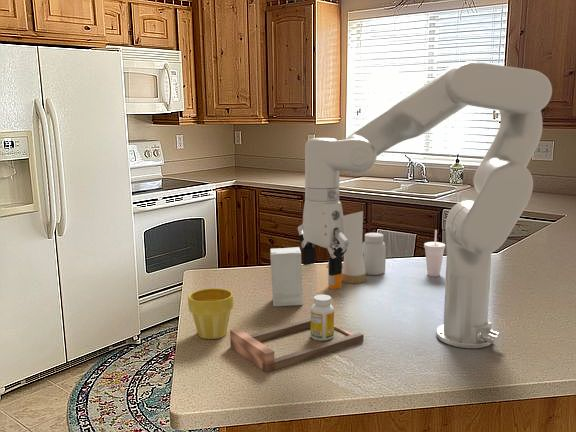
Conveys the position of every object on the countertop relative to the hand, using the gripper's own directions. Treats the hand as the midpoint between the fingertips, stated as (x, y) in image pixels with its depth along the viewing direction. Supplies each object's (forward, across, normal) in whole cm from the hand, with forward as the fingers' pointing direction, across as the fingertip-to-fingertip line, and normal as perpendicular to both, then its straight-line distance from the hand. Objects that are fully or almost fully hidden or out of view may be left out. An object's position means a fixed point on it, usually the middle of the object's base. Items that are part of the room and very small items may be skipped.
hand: (321, 269), depth 130 cm
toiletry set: (+16, +28, -35) cm, 48 cm away
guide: (+16, 0, +7) cm, 18 cm away
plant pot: (+17, +16, +20) cm, 31 cm away
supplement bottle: (+16, 0, 0) cm, 17 cm away
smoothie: (+16, +18, -57) cm, 62 cm away
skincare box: (+16, +23, -6) cm, 29 cm away
